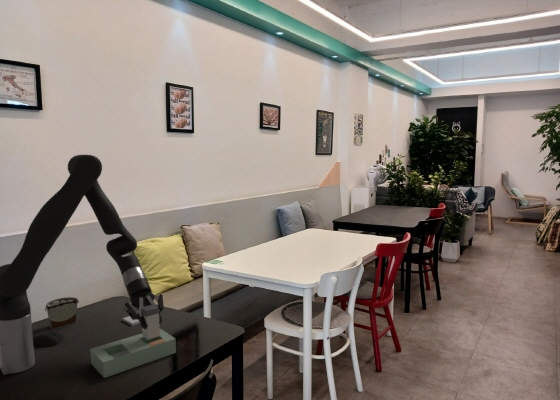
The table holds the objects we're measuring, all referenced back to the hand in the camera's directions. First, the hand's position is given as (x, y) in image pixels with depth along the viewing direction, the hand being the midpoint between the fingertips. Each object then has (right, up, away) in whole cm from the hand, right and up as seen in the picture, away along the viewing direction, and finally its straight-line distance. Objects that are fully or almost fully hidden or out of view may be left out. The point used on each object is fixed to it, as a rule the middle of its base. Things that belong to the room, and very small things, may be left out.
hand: (153, 325), depth 143 cm
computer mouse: (-43, -10, +12) cm, 45 cm away
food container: (-45, -8, +28) cm, 53 cm away
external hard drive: (-15, -7, +32) cm, 36 cm away
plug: (-1, -4, +2) cm, 5 cm away
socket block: (-6, -10, -1) cm, 12 cm away
